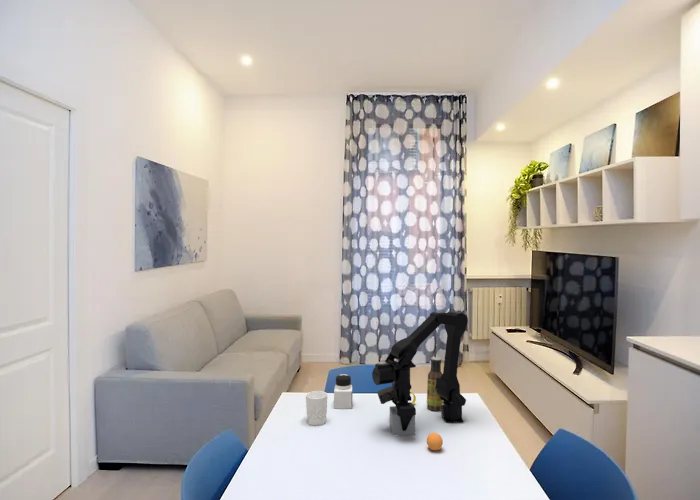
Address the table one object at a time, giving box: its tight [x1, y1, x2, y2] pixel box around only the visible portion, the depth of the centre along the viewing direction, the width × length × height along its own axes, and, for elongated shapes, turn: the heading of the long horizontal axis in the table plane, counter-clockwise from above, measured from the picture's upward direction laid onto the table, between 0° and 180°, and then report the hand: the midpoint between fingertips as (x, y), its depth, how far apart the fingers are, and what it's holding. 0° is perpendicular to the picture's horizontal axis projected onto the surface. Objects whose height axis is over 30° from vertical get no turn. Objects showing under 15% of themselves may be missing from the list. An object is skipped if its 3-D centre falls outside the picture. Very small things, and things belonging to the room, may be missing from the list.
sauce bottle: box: [426, 356, 443, 412], centre depth 160 cm, size 6×6×20 cm
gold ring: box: [410, 389, 417, 405], centre depth 164 cm, size 6×3×6 cm, turn 103°
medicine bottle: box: [333, 374, 353, 410], centre depth 164 cm, size 7×7×12 cm
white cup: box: [305, 390, 328, 427], centre depth 148 cm, size 8×8×10 cm
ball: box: [426, 432, 444, 451], centre depth 128 cm, size 5×5×5 cm
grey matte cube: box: [389, 405, 416, 436], centre depth 141 cm, size 8×8×7 cm
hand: (402, 425), depth 141 cm, fingers closed on grey matte cube, 8 cm apart
